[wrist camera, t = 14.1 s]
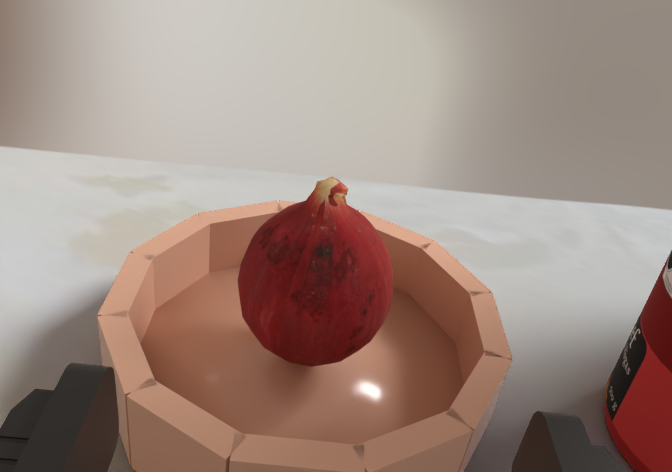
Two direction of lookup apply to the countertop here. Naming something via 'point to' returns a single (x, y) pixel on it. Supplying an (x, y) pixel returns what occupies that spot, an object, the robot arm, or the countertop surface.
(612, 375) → the canned food
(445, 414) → the bowl
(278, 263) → the onion
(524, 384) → the countertop surface
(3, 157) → the countertop surface
